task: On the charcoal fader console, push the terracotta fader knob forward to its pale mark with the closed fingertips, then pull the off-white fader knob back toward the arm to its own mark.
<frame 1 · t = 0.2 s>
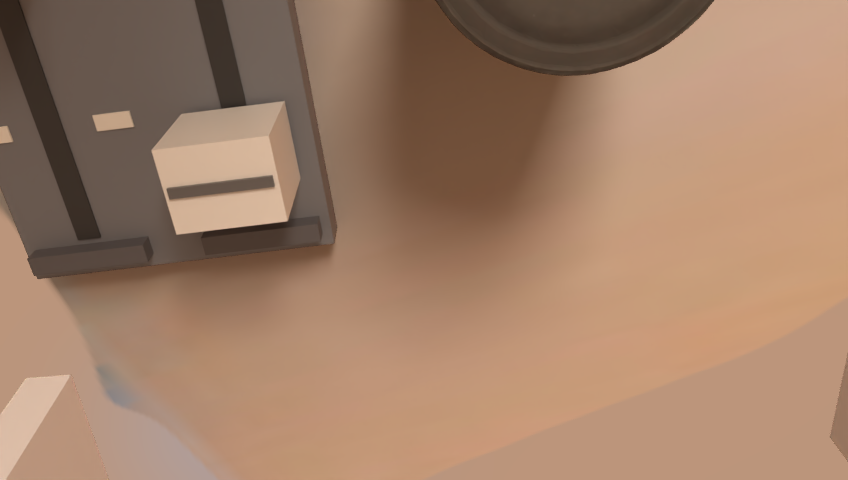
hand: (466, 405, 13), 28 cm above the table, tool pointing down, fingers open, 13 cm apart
off-white fader knob: (232, 166, 35), point 5 cm above the table, slide at 14.0 cm
console: (130, 25, 37), on the table
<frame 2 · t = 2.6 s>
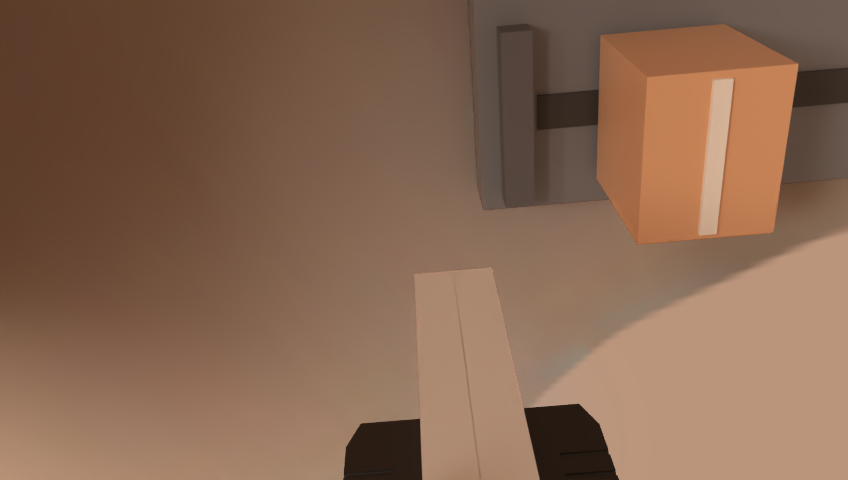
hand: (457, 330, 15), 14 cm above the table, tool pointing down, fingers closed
terracotta fader knob: (683, 130, 23), point 5 cm above the table, slide at 2.0 cm
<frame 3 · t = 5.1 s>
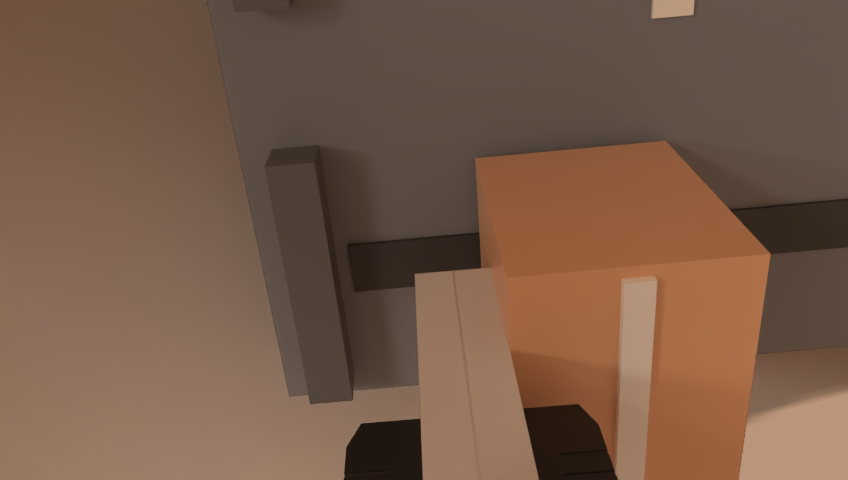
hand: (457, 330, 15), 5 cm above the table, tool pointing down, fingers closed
console: (774, 8, 17), on the table
terracotta fader knob: (597, 316, 15), point 5 cm above the table, slide at 3.0 cm, touching gripper
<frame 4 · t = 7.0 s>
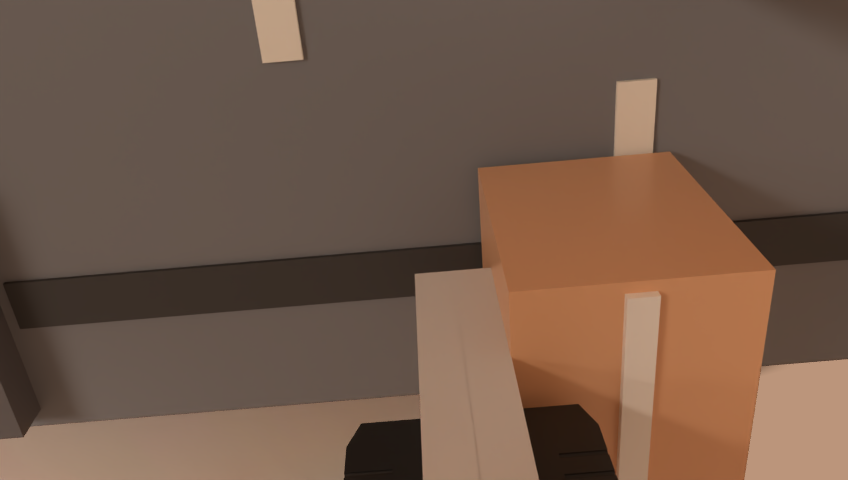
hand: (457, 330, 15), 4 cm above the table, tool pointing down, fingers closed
console: (433, 48, 17), on the table
terracotta fader knob: (599, 329, 15), point 5 cm above the table, slide at 10.7 cm, touching gripper
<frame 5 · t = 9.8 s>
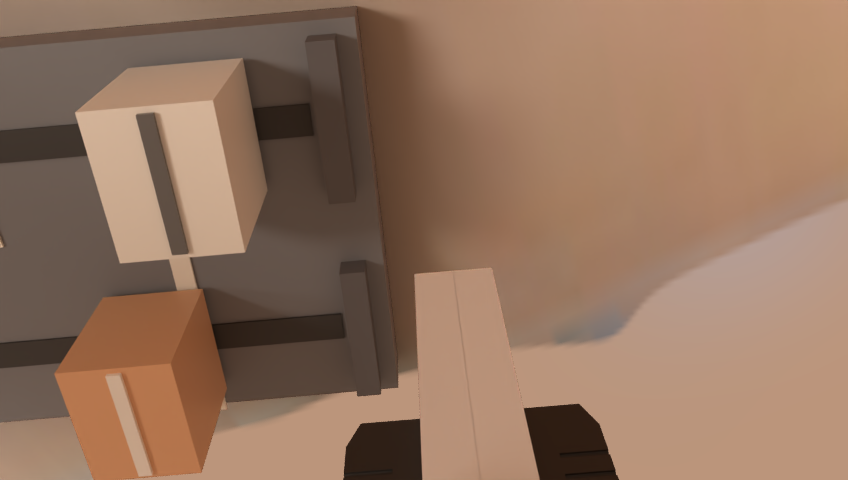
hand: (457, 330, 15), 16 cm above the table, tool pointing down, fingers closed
off-white fader knob: (183, 157, 25), point 5 cm above the table, slide at 14.0 cm
console: (92, 229, 32), on the table
terracotta fader knob: (149, 383, 29), point 5 cm above the table, slide at 10.7 cm
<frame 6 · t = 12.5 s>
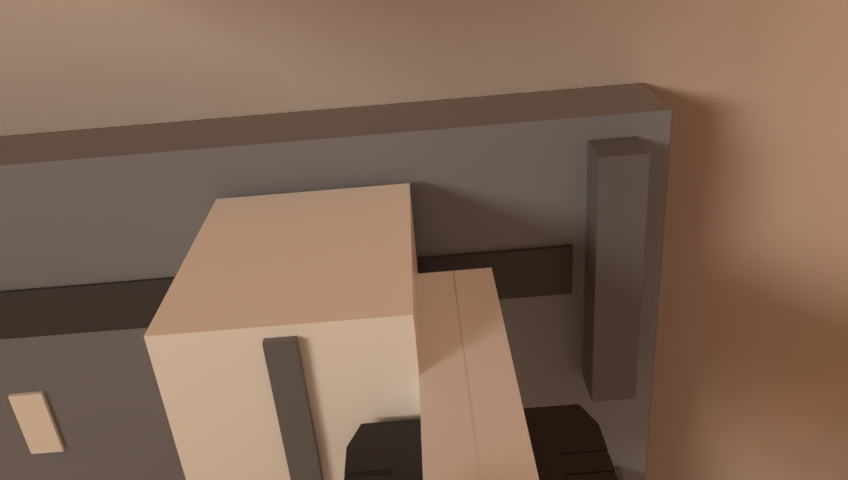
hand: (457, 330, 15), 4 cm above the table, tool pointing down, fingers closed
off-white fader knob: (317, 364, 15), point 5 cm above the table, slide at 12.6 cm, touching gripper
console: (192, 404, 21), on the table
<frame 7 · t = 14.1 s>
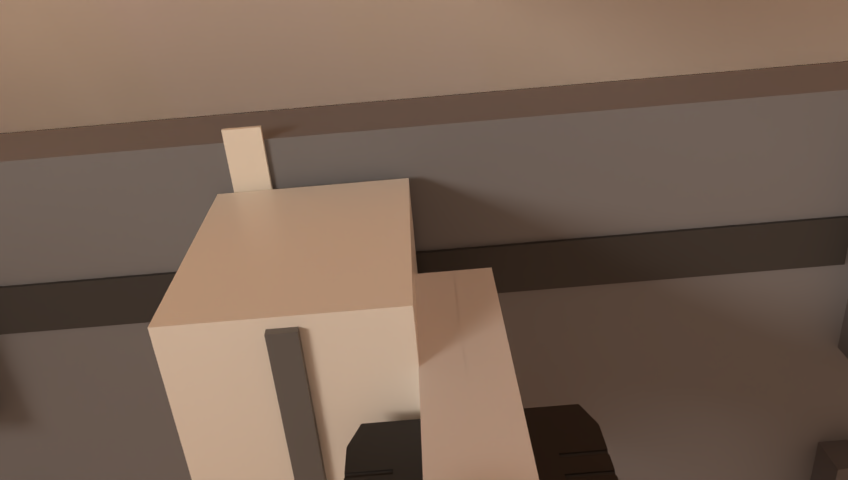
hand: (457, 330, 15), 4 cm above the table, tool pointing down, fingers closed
off-white fader knob: (318, 357, 15), point 5 cm above the table, slide at 6.3 cm, touching gripper
console: (418, 380, 21), on the table
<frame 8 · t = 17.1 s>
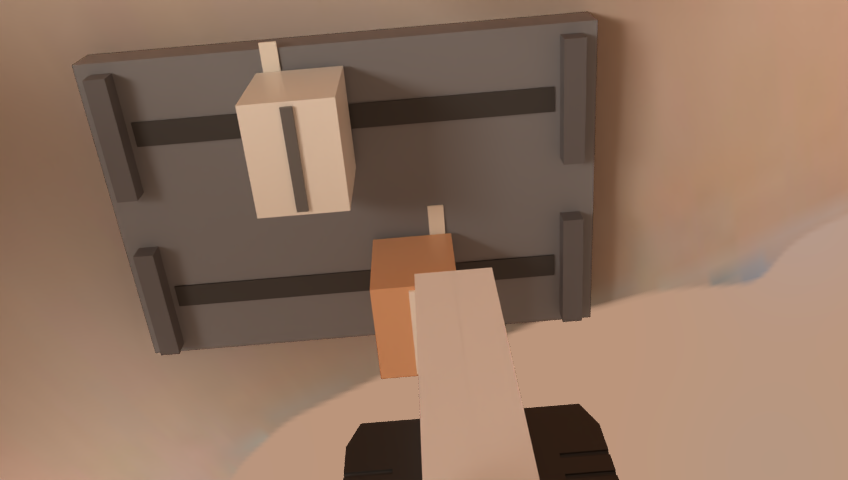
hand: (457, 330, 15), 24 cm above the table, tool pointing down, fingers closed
off-white fader knob: (301, 140, 34), point 5 cm above the table, slide at 6.3 cm
console: (356, 187, 40), on the table
terracotta fader knob: (417, 304, 38), point 5 cm above the table, slide at 10.7 cm
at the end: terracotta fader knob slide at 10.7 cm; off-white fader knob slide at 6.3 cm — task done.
